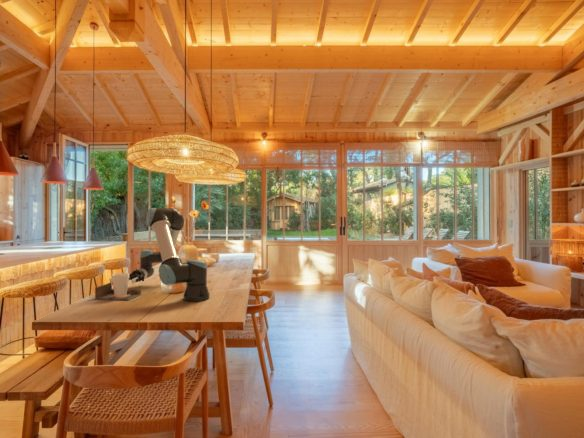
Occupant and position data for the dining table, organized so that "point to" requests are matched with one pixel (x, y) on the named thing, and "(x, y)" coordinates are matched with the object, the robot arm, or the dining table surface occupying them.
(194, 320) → the dining table surface
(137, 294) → the wooden-edged grey tray
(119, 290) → the foam cup
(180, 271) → the robot arm
